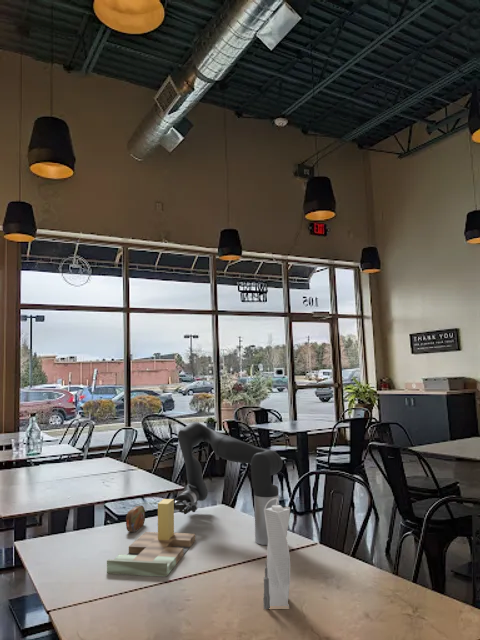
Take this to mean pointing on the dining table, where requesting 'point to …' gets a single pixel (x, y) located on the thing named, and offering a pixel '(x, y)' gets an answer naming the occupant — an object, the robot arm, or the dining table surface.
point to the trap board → (151, 555)
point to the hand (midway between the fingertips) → (174, 511)
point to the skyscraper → (277, 556)
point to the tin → (135, 519)
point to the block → (165, 519)
